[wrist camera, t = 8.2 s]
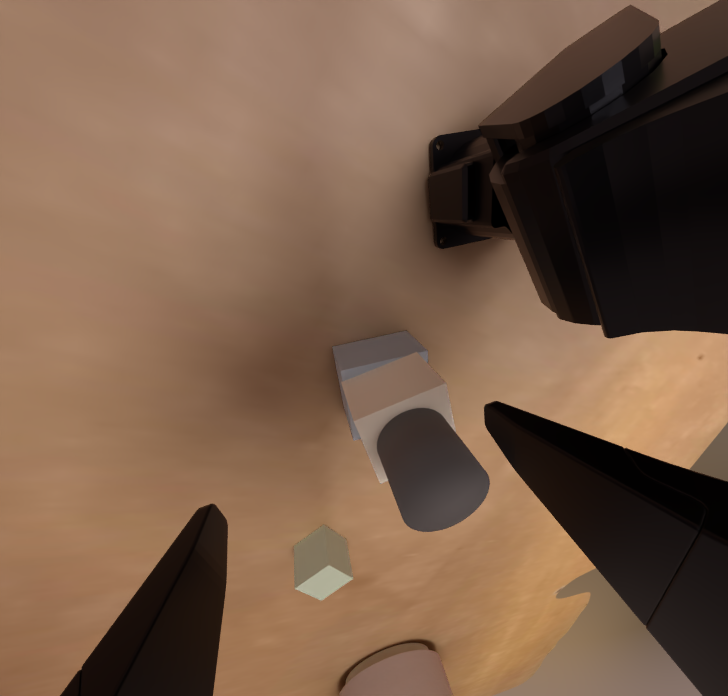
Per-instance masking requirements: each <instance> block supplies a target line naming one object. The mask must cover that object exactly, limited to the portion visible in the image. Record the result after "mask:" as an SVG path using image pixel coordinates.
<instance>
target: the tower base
mask: <svg viewBox="0 0 728 696" xmlns="http://www.w3.org/2000/svg"><path fill="white" fill-rule="evenodd" d="M332 349H333V354H334V359H335V364H336V369H337V374H338V380H339V385H340V390H341V395H342V400H343V405H344V410H345V413H346V417H347V420H348V423H349V427H350V430H351V434H352V437H353V440H358V439H361V438H360V435H359V433H358V430H357V428H356V426H355V423H354V421H353V418H352V415H351V412H350V409H349V406H348V402H347V399H346V396H345V393H344V390H343V387H342V384H341V382H343V381H345V380H348V379H350V378H353V377H355V376H358V375H360V374H363V373H365V372H368V371H370V370H373V369H375V368H378V367H380V366H383V365H385V364H388V363H390V362H393V361H395V360H398V359H400V358H403V357H405V356H408V355H410V354H412V353H415V352H417V353H418V354H419V355H420V356H421V357H422V358H423V359H424V360H425V361H426V362H427V363H428V350H426V349H425V348H424V347H423V346H422V345H421V344H420V343H419V342H418V341H417V340H416V339H415V338H414V337H413V336H412V335H411V334H410V333H409V332H408V331H407V330H406V331H402V332H397V333H392V334H388V335H383V336H379V337H374V338H369V339H365V340H360V341H356V342H351V343H346V344H342V345H337V346H333V347H332Z"/></svg>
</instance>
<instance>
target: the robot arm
mask: <svg viewBox="0 0 728 696" xmlns="http://www.w3.org/2000/svg"><path fill="white" fill-rule="evenodd" d="M478 126H479V128H480V129H477V130H470V131H464V132H458V133H451V134H445V135H439V136H437V137H435V138H434V139H433V140H432V141H431V143H430V166H431V174H430V176H429V178H428V181H429V200H430V218H431V220H432V221H433V227H434V243H435V246H436V247H438V248H441V249H444V248H449V247H454V246H458V245H463V244H467V243H472V242H476V241H481V240H486V239H490V238H500V239H510V240H515V241H516V243H517V245H518V248H519V250H520V252H521V255H522V257H523V260H524V262H525V264H526V267H527V269H528V271H529V274H530V276H531V279H532V281H533V283H534V286H535V288H536V290H537V293H538V295H539V297H540V300H541V302H542V303H543V304H544V305H545V306H547V307H548V308H549V309H550V310H551V311H553V312H555V313H556V314H557V317H558V318H559V319H562V320H565V321H569V322H572V323H578V324H589V325H601V326H602V330H603V333H604V336H605V337H606V338H616V337H621V336H626V335H631V334H636V333H641V332H655V331H671V330H678V331H699V332H710V333H721V334H728V0H719V1H718V2H716V3H714V4H712V5H711V6H709V7H707V8H705V9H703V10H702V11H700V12H698V13H696V14H695V15H693V16H691V17H689V18H687V19H686V20H684V21H682V22H680V23H679V24H677V25H675V26H673V27H671V28H670V29H668V30H666V31H664V32H663V33H661V34H660V28H659V20H657V19H656V18H654V17H652V16H650V15H648V14H646V13H645V12H643V11H641V10H639V9H637V8H636V7H634V6H632V5H630V6H628V7H626V8H624V9H623V10H621V11H620V12H618V13H617V14H615V15H614V16H612V17H611V18H609V19H608V20H606V21H605V22H603V23H602V24H600V25H599V26H597V27H596V28H594V29H593V30H591V31H590V32H588V33H587V34H586V35H584V36H583V37H581V38H580V39H578V40H577V41H575V42H574V43H572V44H571V45H569V46H568V47H567V48H565V49H564V50H563V51H562V52H560V53H559V54H558V55H557V56H556V57H555V58H554V59H553V60H551V61H550V62H549V63H548V64H547V65H546V66H545V67H543V68H542V69H541V70H540V71H539V72H538V73H537V74H536V75H534V76H533V77H532V78H531V79H530V80H529V81H528V82H526V83H525V84H524V85H523V86H522V87H521V88H520V89H519V90H517V91H516V92H515V93H514V94H513V95H512V96H511V97H509V98H508V99H507V100H506V101H505V102H504V103H503V104H502V105H500V106H499V107H498V108H497V109H496V110H495V111H494V112H492V113H491V114H490V115H489V116H488V117H487V118H486V119H485V120H483V121H482V122H481V123H480V124H479V125H478ZM437 142H439V143H440V144H441V149H440V150H438V149H437V147H436V145H437ZM441 238H444V242H443V244H441V243H440V240H441ZM484 418H485V426H486V428H487V430H488V431H489V433H490V434H491V436H492V437H493V439H494V440H495V442H496V443H497V445H498V446H499V448H500V449H501V451H502V452H503V454H504V455H505V457H506V458H507V459H508V461H509V462H510V464H511V465H512V467H513V468H514V469H515V471H516V472H517V473H518V474H519V476H520V477H521V478H522V479H523V480H524V482H525V483H526V484H527V485H528V486H529V488H530V489H531V490H532V491H533V492H534V494H535V495H536V496H537V497H538V498H539V500H540V501H541V502H542V503H543V504H544V506H545V507H546V508H547V509H548V510H549V512H550V513H551V514H552V515H553V516H554V518H555V519H556V520H557V521H558V522H559V524H560V525H561V526H562V527H563V528H564V530H565V531H566V532H567V533H568V534H569V536H570V537H571V538H572V539H573V540H574V542H575V543H576V544H577V545H578V546H579V548H580V549H581V550H582V551H583V552H584V554H585V555H586V556H587V557H588V558H589V560H590V561H591V562H592V563H593V564H594V566H595V567H596V568H597V569H598V570H599V572H600V573H601V574H602V575H603V576H604V578H605V579H606V580H607V581H608V582H609V584H610V585H611V586H612V587H613V588H614V590H615V591H616V592H617V593H618V594H619V596H620V597H621V598H622V599H623V600H624V602H625V603H626V604H627V605H628V606H629V607H630V609H631V610H632V611H633V612H634V614H635V615H636V616H637V617H638V618H639V620H640V621H641V622H642V623H643V624H644V625H645V626H646V628H647V630H648V631H649V632H650V633H651V634H652V636H653V637H654V638H655V639H656V640H657V641H658V643H659V644H660V645H661V646H662V647H663V649H664V650H665V651H666V652H667V654H668V655H669V656H670V657H671V658H672V660H673V661H674V662H675V663H676V664H677V666H678V667H679V668H680V669H681V670H682V672H683V673H684V674H685V675H686V676H687V678H688V679H689V680H690V681H691V682H692V683H693V685H694V686H695V687H696V688H697V689H698V691H699V692H700V693H701V694H702V696H728V482H727V481H724V480H721V479H718V478H714V477H711V476H708V475H705V474H701V473H698V472H695V471H692V470H689V469H685V468H682V467H679V466H676V465H673V464H670V463H667V462H664V461H661V460H658V459H655V458H653V457H650V456H647V455H644V454H641V453H638V452H636V451H633V450H630V449H627V448H623V447H622V446H619V445H616V444H614V443H611V442H608V441H605V440H603V439H600V438H597V437H594V436H592V435H589V434H586V433H583V432H581V431H578V430H575V429H572V428H570V427H567V426H564V425H561V424H559V423H556V422H553V421H551V420H548V419H545V418H542V417H540V416H537V415H534V414H531V413H529V412H526V411H523V410H520V409H518V408H515V407H512V406H509V405H507V404H504V403H501V402H498V401H494V402H491V403H488V404H486V405H485V407H484ZM227 539H228V524H227V520H226V518H225V517H224V515H223V514H222V513H221V511H220V510H219V509H218V508H217V506H216V505H215V504H209V505H206V506H204V507H201V508H199V509H198V510H197V511H196V512H195V514H194V515H193V516H192V518H191V519H190V520H189V522H188V523H187V525H186V526H185V527H184V529H183V530H182V531H181V533H180V534H179V535H178V537H177V538H176V539H175V541H174V542H173V543H172V545H171V546H170V548H169V549H168V550H167V552H166V553H165V554H164V556H163V557H162V558H161V560H160V561H159V562H158V564H157V565H156V567H155V568H154V569H153V571H152V572H151V573H150V575H149V576H148V577H147V579H146V580H145V581H144V583H143V584H142V586H141V587H140V588H139V590H138V591H137V592H136V594H135V595H134V596H133V598H132V599H131V600H130V602H129V603H128V604H127V606H126V607H125V609H124V610H123V611H122V613H121V614H120V615H119V617H118V618H117V619H116V621H115V622H114V623H113V625H112V626H111V628H110V629H109V630H108V632H107V633H106V634H105V636H104V637H103V638H102V640H101V641H100V642H99V644H98V645H97V647H96V648H95V649H94V651H93V652H92V653H91V655H90V656H89V657H88V659H87V660H86V661H85V663H84V664H83V666H82V670H79V671H78V672H77V673H76V675H75V676H74V678H73V679H72V680H71V682H70V683H69V684H68V686H67V687H66V688H65V690H64V691H63V692H62V694H61V695H60V696H213V690H214V682H215V674H216V665H217V657H218V649H219V641H220V632H221V624H222V616H223V608H224V599H225V591H226V578H227Z"/></svg>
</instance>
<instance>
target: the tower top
mask: <svg viewBox="0 0 728 696" xmlns="http://www.w3.org/2000/svg"><path fill="white" fill-rule="evenodd" d="M341 384H342V387H343V390H344V393H345V396H346V399H347V402H348V406H349V409H350V412H351V415H352V418H353V421H354V423H355V426H356V428H357V430H358V433H359V435H360V438H361V440H362V442H363V445H364V447H365V449H366V452H367V454H368V456H369V459H370V461H371V463H372V466H373V468H374V470H375V473H376V475H377V477H378V480H379V482H380V484H382V483H384V482H386V481H388V479H387V476H386V473H385V471H384V468H383V466H382V463H381V460H380V458H379V455H378V452H377V440H378V437H379V435H380V433H381V431H382V429H383V428H384V427H385V425H386V424H387V423H388V422H389V421H390V420H391V419H393V418H394V417H395V416H397V415H399V414H401V413H403V412H405V411H408V410H411V409H415V408H429V409H433V410H435V411H437V412H439V413H440V414H441V415H442V416H443V417H444V418H445V419H446V421H447V422H448V423H449V425H450V426H451V427H452V429H453V430H454V431H455V432H456V430H455V425H454V420H453V415H452V410H451V405H450V400H449V395H448V390H447V385H446V382H445V381H444V380H443V379H442V378H441V377H440V376H439V375H438V374H437V373H436V372H435V371H434V370H433V369H432V367H431V366H430V365H429V364H428V363H427V362H426V361H425V360H424V359H423V358H422V357H421V356H420V355H419V354H418V353H417V352H415V353H412V354H410V355H408V356H405V357H403V358H400V359H398V360H395V361H393V362H390V363H388V364H385V365H383V366H380V367H378V368H375V369H373V370H370V371H368V372H365V373H363V374H360V375H358V376H355V377H353V378H350V379H348V380H345V381H343V382H341Z"/></svg>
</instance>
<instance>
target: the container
mask: <svg viewBox="0 0 728 696" xmlns="http://www.w3.org/2000/svg"><path fill="white" fill-rule="evenodd" d="M339 696H453V693H452V690H451V688H450V685H449V682H448V679H447V676H446V673H445V670H444V667H443V664H442V662H441V659H440V656H439V654H438V653H437V652H435V651H432V650H428V647H427V646H425V645H424V644H421V643H406V644H401V645H397V646H393V647H390V648H387V649H385V650H382V651H380V652H378V653H376V654H374V655H372V656H370V657H369V658H367V659H365V660H364V661H362V662H361V663H360V664H358V665H357V666H356V667H355V668H354V669H353V670H352V671H351V672H350V673H349V675H348V677H347V679H346V685H345V686H344V687H343V688H342V690H341V692H340V694H339Z"/></svg>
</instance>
